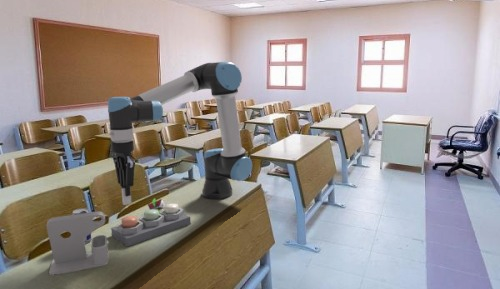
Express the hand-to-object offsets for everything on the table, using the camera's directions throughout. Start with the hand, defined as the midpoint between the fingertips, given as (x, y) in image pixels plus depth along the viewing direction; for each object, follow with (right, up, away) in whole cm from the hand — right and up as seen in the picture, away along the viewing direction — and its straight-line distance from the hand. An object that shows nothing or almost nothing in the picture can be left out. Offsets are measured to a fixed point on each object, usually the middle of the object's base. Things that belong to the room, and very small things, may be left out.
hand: (127, 203), depth 132 cm
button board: (+7, -12, +9) cm, 16 cm away
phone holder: (-10, -17, -15) cm, 25 cm away
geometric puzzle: (+4, -9, +26) cm, 27 cm away
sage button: (+7, -7, +8) cm, 13 cm away
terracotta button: (0, -8, +2) cm, 8 cm away
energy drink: (-16, -14, 0) cm, 21 cm away
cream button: (+13, -6, +14) cm, 20 cm away
